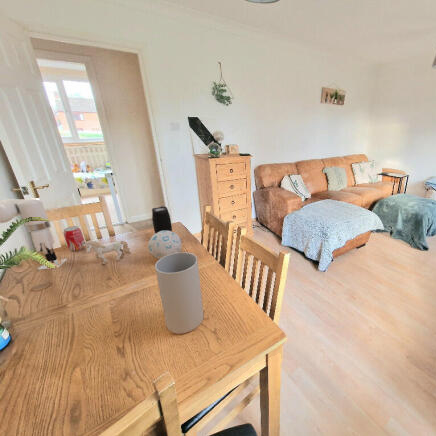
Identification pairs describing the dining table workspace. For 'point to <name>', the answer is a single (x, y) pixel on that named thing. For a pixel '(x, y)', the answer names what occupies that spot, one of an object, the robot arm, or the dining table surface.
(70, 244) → the soda can
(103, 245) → the unicorn figurine
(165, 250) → the puzzle ball
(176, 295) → the cylinder vase
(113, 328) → the dining table surface
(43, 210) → the robot arm
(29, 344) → the dining table surface
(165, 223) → the portable speaker
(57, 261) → the grey square slab
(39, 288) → the cork coaster
